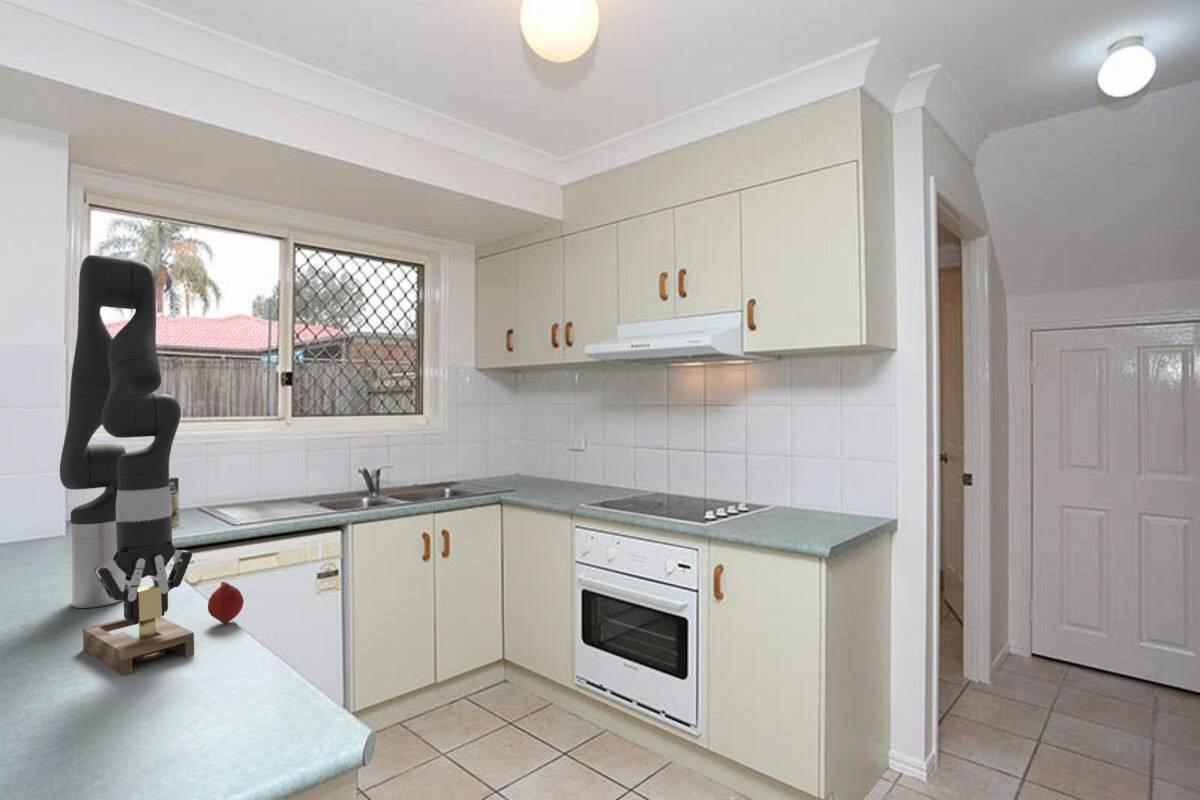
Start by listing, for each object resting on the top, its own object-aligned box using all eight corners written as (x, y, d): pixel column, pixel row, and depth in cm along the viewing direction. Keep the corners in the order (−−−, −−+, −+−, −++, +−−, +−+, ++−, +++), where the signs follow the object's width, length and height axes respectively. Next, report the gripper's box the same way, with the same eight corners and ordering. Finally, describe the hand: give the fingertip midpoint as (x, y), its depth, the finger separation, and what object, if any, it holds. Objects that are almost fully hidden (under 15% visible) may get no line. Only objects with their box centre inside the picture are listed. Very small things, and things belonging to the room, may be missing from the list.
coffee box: (161, 530, 207) (160, 480, 207) (141, 531, 207) (140, 481, 207) (180, 525, 216) (179, 477, 216) (161, 525, 216) (160, 477, 216)
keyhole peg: (125, 657, 106) (123, 589, 106) (158, 648, 110) (156, 582, 110) (136, 663, 103) (134, 594, 103) (170, 653, 107) (168, 586, 107)
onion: (236, 615, 126) (235, 575, 126) (248, 622, 123) (248, 580, 122) (203, 624, 122) (202, 582, 122) (215, 631, 118) (214, 587, 118)
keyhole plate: (83, 649, 110) (82, 628, 110) (150, 631, 118) (150, 612, 118) (123, 675, 99) (122, 652, 99) (194, 653, 108) (193, 632, 108)
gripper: (181, 506, 114) (183, 603, 114) (83, 519, 103) (86, 627, 103) (200, 510, 110) (202, 611, 110) (100, 525, 98) (103, 637, 99)
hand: (146, 618), depth 107 cm, fingers closed on keyhole peg, 3 cm apart
